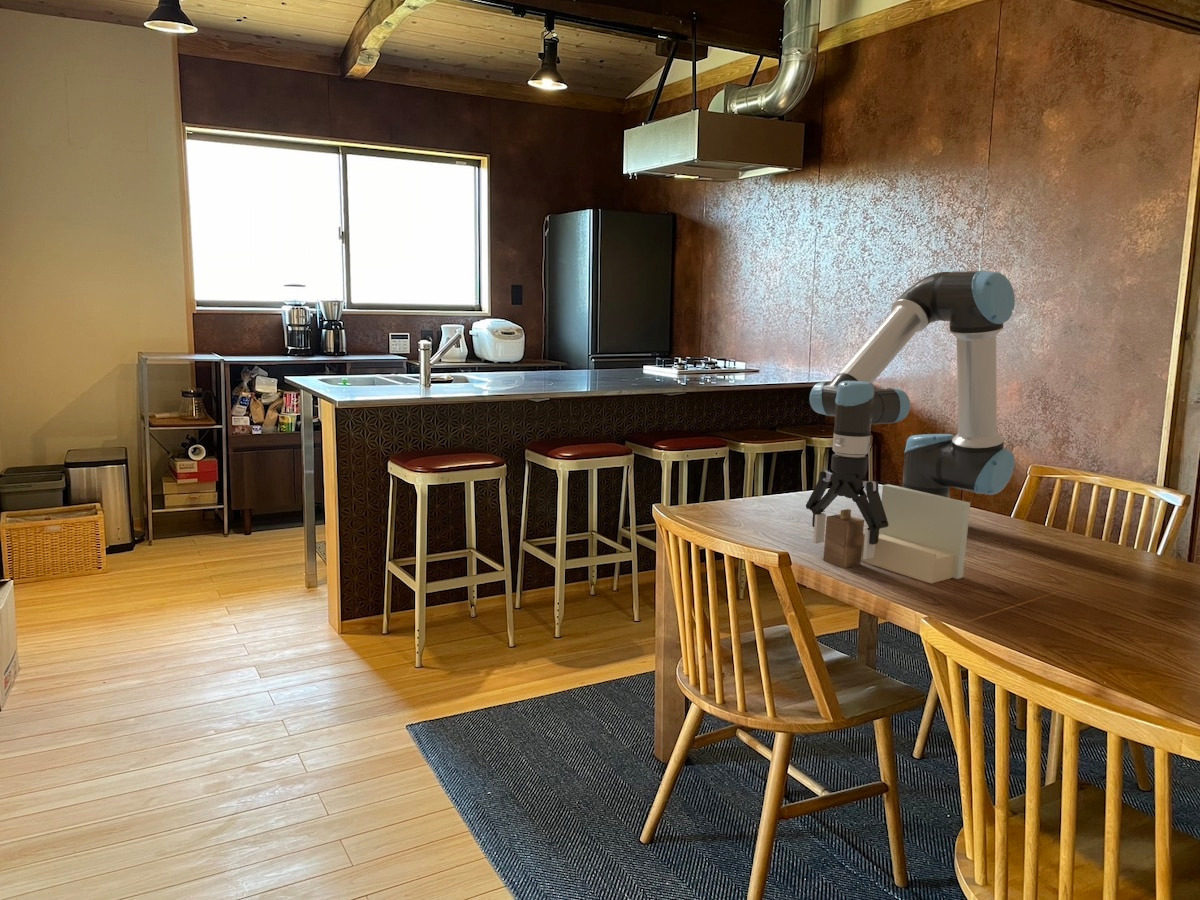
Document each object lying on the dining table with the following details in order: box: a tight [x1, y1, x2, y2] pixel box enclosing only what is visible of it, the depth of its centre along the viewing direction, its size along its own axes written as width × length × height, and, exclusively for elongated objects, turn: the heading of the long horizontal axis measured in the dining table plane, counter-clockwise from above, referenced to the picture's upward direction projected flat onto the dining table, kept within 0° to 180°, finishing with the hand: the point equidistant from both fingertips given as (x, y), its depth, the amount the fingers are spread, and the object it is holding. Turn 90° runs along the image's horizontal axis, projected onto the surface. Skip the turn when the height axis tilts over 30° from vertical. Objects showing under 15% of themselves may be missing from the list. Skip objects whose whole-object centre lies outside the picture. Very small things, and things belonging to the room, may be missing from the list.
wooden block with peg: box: [822, 508, 865, 569], centre depth 187 cm, size 5×6×12 cm
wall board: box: [861, 483, 971, 585], centre depth 183 cm, size 10×20×16 cm, turn 35°
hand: (842, 550), depth 187 cm, fingers open, 13 cm apart
